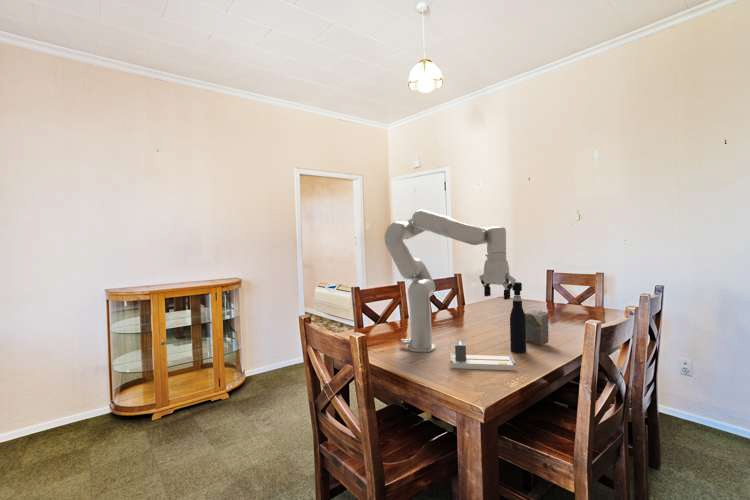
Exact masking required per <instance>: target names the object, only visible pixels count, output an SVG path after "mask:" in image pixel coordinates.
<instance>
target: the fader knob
mask: <svg viewBox="0 0 750 500" xmlns="http://www.w3.org/2000/svg"><path fill="white" fill-rule="evenodd" d="M454 353H455V354H454V355H455V358H456V361H466V355H467V347H466V341H465V340H464V341H463V340H455V341H454Z"/></svg>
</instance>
